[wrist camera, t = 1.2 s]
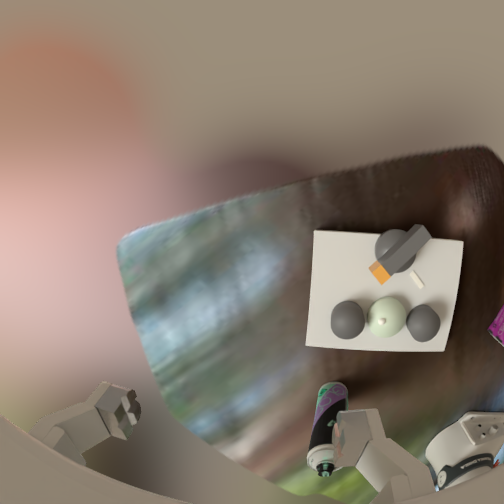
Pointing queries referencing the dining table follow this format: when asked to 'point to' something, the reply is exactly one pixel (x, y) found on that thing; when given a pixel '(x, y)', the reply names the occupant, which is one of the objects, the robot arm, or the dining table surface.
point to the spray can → (326, 427)
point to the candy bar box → (498, 327)
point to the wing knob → (397, 251)
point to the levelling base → (381, 295)
